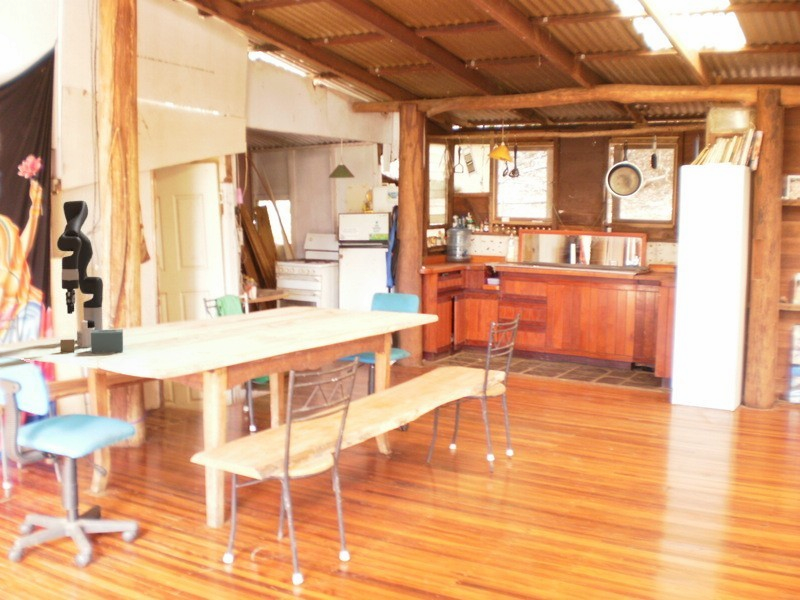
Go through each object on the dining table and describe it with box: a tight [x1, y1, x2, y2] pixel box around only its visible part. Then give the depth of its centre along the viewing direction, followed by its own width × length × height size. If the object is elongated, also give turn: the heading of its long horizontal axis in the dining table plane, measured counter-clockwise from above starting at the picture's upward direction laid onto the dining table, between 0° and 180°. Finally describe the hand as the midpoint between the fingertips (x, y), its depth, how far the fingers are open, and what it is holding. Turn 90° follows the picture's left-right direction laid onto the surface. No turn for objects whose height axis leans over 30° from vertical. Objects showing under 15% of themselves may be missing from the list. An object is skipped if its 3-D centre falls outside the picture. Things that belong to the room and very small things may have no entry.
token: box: [59, 338, 76, 353], centre depth 392 cm, size 2×6×6 cm, turn 107°
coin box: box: [90, 329, 124, 354], centre depth 396 cm, size 10×14×10 cm
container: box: [76, 319, 95, 348], centre depth 411 cm, size 8×8×13 cm
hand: (70, 312), depth 390 cm, fingers open, 8 cm apart
